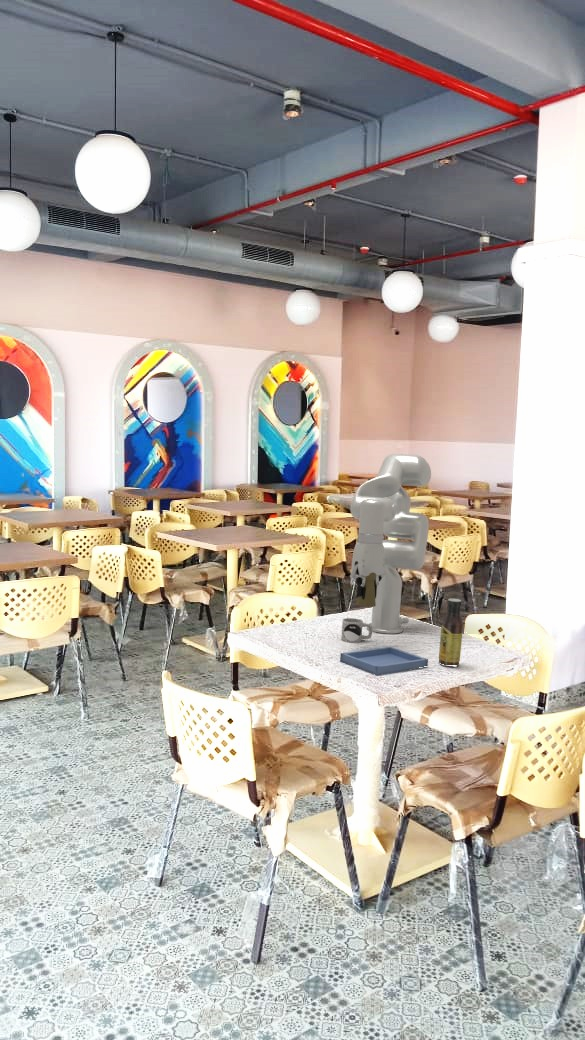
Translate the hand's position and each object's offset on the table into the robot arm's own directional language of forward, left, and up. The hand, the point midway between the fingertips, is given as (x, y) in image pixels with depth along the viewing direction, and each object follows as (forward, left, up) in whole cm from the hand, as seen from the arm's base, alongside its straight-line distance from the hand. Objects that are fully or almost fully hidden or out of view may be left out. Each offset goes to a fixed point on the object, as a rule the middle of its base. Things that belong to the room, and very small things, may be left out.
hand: (366, 597), depth 254 cm
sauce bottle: (-13, +24, -17) cm, 32 cm away
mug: (-7, -11, -17) cm, 21 cm away
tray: (+5, +15, -17) cm, 23 cm away
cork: (0, 0, -3) cm, 3 cm away
